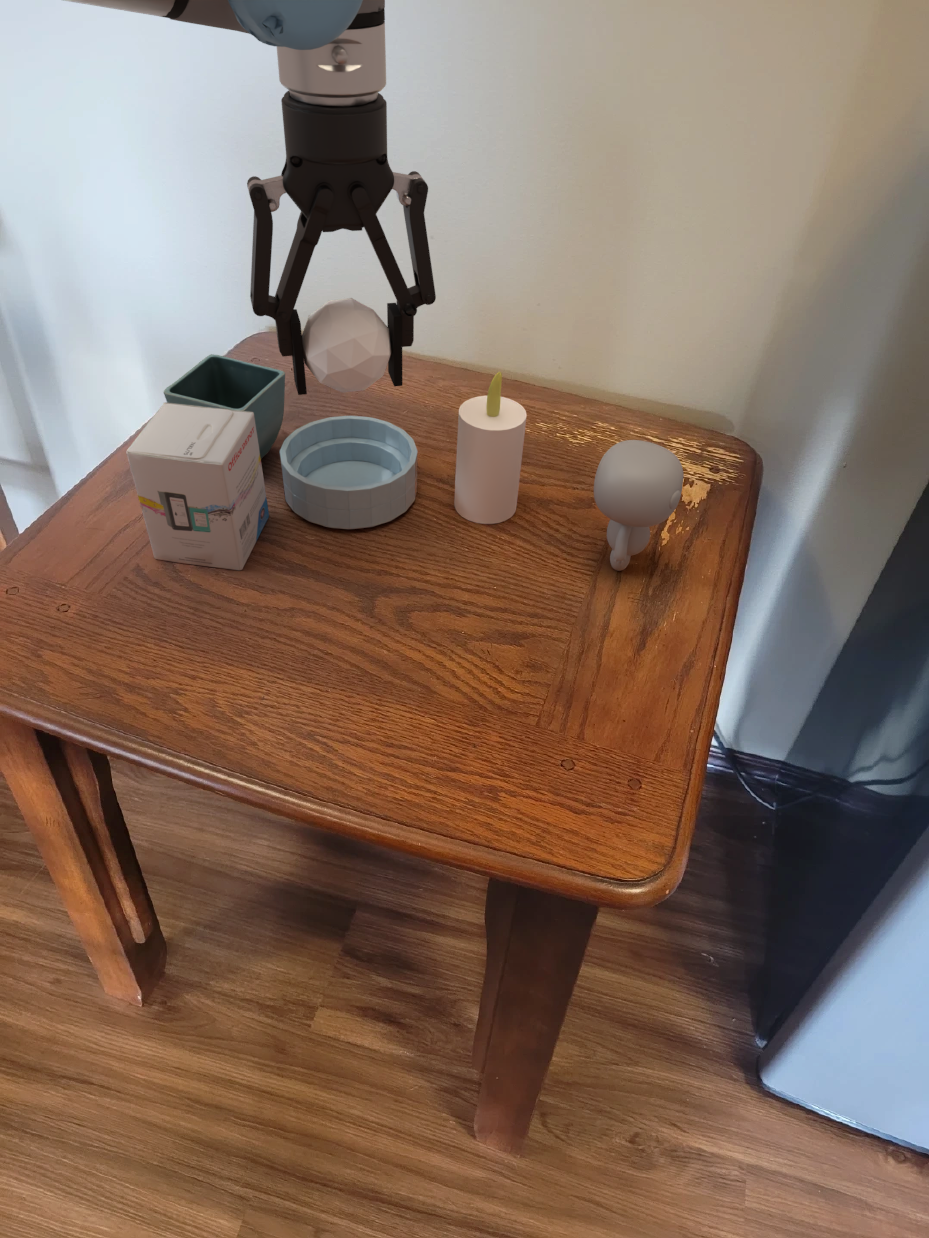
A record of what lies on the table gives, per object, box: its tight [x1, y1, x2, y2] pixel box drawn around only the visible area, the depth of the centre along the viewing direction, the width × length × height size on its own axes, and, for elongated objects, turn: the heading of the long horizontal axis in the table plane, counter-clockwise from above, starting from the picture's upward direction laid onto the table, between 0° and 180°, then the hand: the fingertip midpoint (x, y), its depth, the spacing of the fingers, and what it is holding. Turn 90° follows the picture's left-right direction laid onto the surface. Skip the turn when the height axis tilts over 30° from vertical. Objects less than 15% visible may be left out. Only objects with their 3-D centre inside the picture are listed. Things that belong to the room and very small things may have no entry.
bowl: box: [279, 415, 419, 530], centre depth 84 cm, size 13×13×5 cm
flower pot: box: [162, 353, 286, 460], centre depth 87 cm, size 9×9×9 cm
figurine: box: [593, 439, 685, 572], centre depth 76 cm, size 8×8×12 cm
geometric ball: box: [302, 297, 392, 394], centre depth 74 cm, size 8×8×8 cm
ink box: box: [125, 401, 270, 571], centre depth 76 cm, size 9×8×12 cm
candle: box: [453, 371, 527, 525], centre depth 81 cm, size 6×6×15 cm
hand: (348, 382), depth 76 cm, fingers closed on geometric ball, 8 cm apart
